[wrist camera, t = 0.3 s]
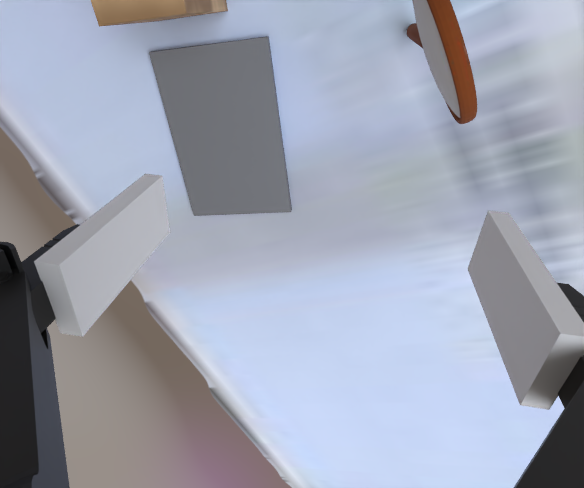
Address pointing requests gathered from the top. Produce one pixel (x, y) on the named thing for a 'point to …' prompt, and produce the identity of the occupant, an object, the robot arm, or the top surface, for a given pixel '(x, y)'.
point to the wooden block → (152, 10)
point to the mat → (225, 125)
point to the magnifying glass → (445, 55)
